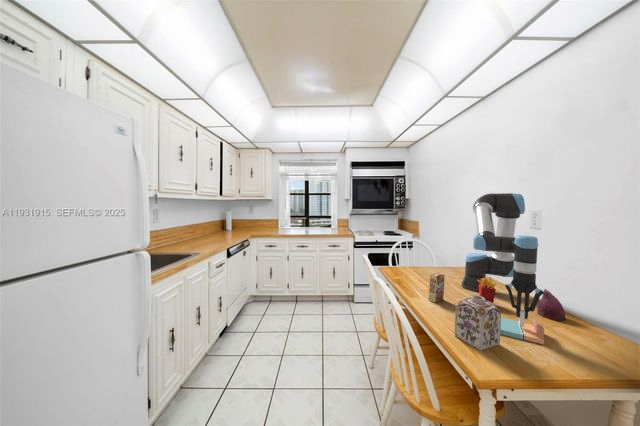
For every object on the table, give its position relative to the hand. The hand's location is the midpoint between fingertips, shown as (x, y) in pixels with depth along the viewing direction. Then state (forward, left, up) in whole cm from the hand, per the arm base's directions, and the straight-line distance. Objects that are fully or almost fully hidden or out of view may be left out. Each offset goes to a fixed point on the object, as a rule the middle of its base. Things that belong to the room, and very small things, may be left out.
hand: (521, 324), depth 105 cm
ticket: (0, -6, -4) cm, 7 cm away
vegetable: (-30, +15, -4) cm, 34 cm away
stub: (0, +3, -4) cm, 5 cm away
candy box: (-17, -36, -4) cm, 40 cm away
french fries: (-29, -13, -4) cm, 32 cm away
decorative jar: (+19, -16, -4) cm, 25 cm away
